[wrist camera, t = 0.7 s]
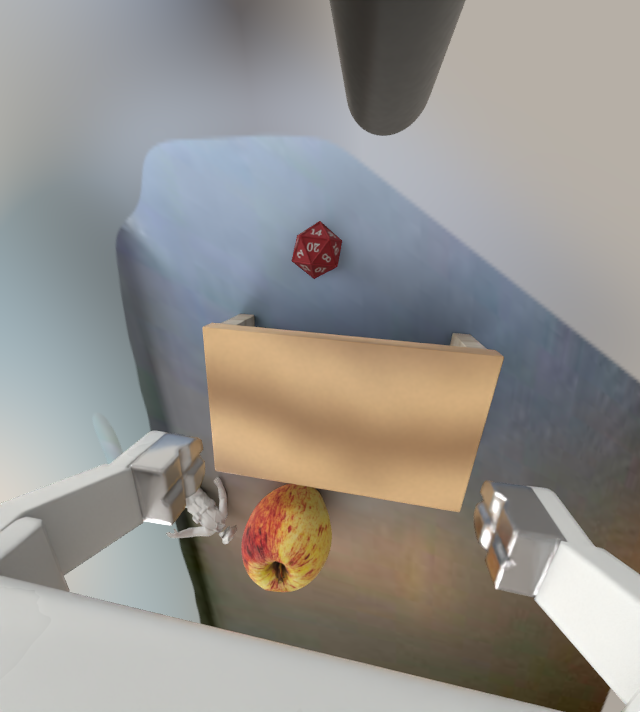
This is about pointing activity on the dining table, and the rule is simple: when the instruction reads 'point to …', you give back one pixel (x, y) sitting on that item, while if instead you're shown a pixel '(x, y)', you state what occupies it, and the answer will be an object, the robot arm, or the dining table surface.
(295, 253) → the dice
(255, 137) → the dining table surface
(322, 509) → the apple
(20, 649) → the robot arm
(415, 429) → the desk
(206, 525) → the soldier figure
